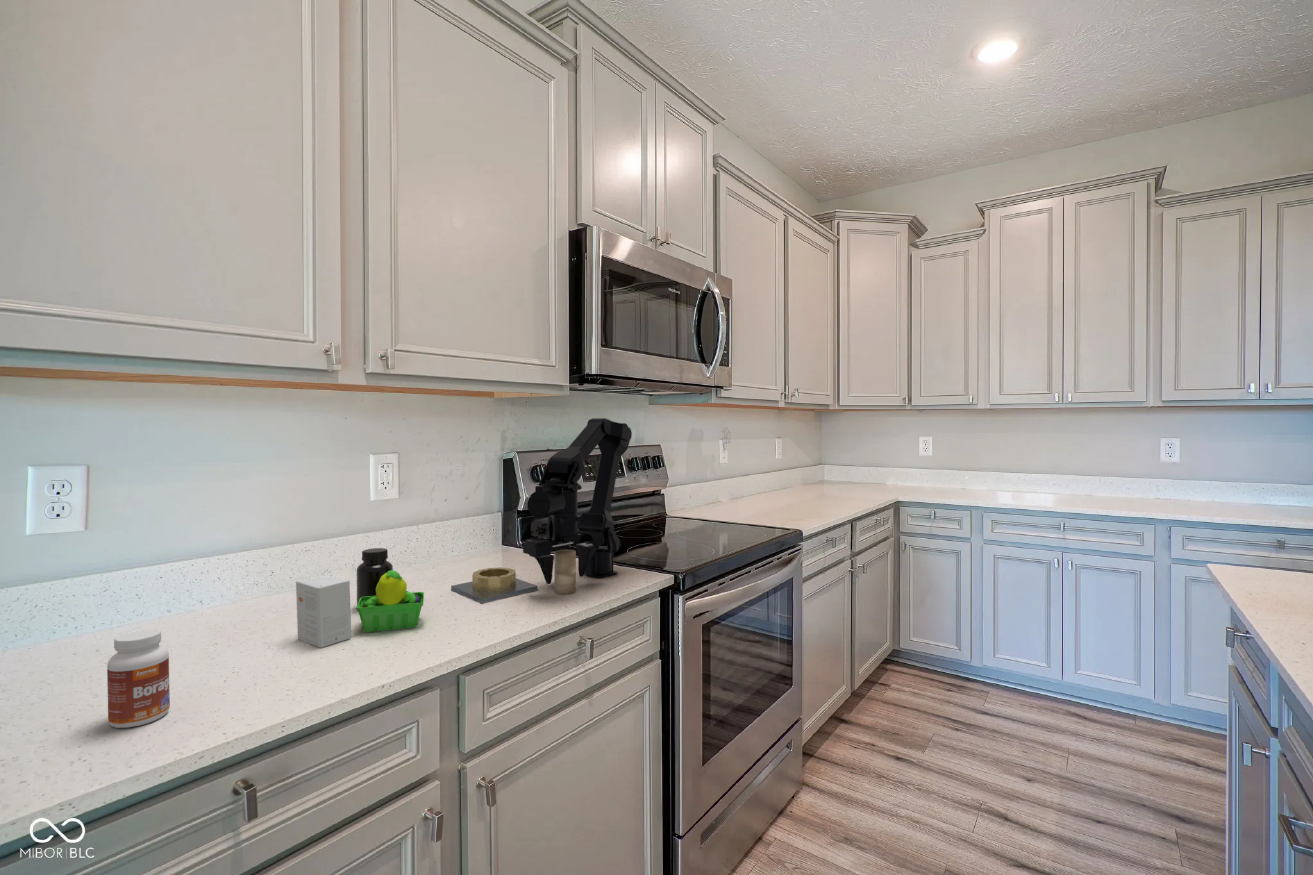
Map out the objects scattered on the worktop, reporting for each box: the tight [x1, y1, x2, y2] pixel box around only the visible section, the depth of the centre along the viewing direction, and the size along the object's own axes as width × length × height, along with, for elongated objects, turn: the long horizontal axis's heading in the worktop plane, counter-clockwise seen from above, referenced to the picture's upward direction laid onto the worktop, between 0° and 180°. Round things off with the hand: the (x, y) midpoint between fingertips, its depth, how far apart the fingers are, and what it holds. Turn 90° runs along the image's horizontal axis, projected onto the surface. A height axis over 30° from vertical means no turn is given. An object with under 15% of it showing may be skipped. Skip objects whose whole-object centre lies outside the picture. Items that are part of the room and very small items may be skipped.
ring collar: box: [450, 566, 539, 604], centre depth 138 cm, size 14×14×4 cm
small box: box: [295, 574, 352, 649], centre depth 108 cm, size 8×6×10 cm
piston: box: [553, 549, 577, 595], centre depth 137 cm, size 5×5×9 cm
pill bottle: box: [106, 628, 171, 729], centre depth 79 cm, size 6×6×11 cm
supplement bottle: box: [356, 547, 394, 606], centre depth 125 cm, size 7×7×12 cm
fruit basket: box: [355, 569, 425, 633], centre depth 114 cm, size 11×9×11 cm
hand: (565, 580), depth 137 cm, fingers open, 9 cm apart
